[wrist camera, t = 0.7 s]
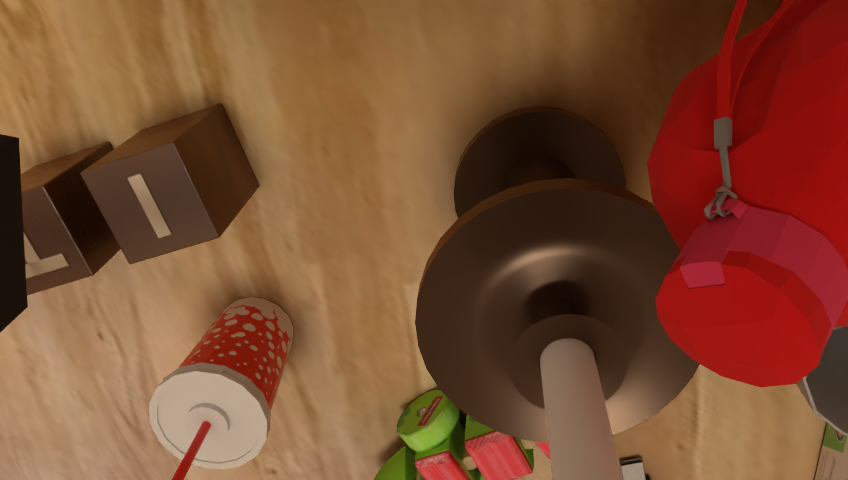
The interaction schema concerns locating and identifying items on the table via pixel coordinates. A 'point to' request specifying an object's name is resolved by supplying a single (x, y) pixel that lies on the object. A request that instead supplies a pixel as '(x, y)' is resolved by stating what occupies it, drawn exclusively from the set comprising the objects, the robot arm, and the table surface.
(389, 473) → the toy crocodile
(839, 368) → the cup
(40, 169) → the tile
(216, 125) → the tile
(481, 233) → the candlestick
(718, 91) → the water bottle
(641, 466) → the usb flash drive
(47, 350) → the table surface
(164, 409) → the beverage cup
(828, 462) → the ink box
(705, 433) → the table surface
